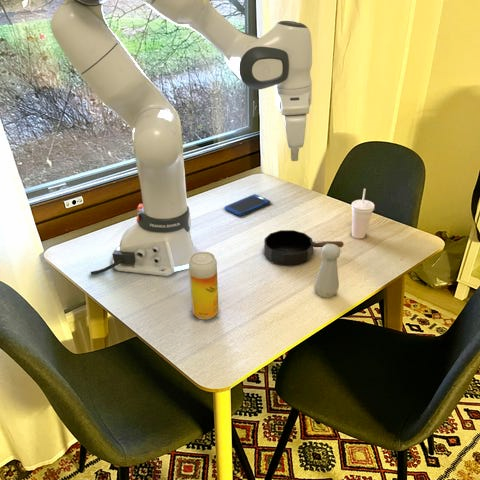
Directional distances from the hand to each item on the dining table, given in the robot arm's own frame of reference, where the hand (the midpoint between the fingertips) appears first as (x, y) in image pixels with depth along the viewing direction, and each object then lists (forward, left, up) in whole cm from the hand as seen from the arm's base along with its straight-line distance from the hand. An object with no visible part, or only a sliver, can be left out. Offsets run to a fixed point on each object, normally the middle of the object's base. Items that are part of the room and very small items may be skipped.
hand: (293, 153), depth 134 cm
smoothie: (+20, +1, -25) cm, 32 cm away
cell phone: (-12, +20, -25) cm, 34 cm away
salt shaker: (+7, -28, -25) cm, 38 cm away
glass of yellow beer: (-22, -36, -25) cm, 49 cm away
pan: (+3, -9, -24) cm, 26 cm away
